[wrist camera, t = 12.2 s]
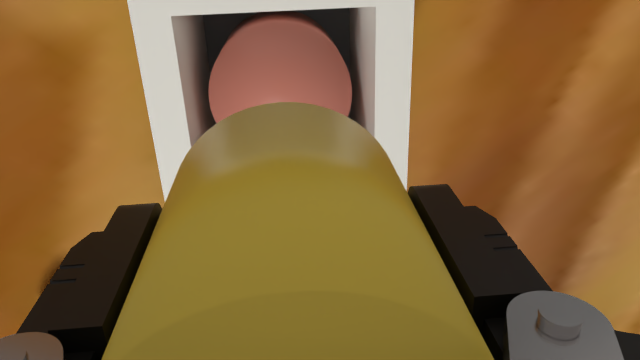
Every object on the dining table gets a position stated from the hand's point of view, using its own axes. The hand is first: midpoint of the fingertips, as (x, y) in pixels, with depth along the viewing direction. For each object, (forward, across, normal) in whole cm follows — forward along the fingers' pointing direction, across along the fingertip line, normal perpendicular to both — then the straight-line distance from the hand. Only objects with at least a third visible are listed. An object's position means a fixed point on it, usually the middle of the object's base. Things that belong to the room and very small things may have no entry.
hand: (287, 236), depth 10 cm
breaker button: (+15, 0, 0) cm, 15 cm away
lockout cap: (+1, 0, 0) cm, 1 cm away
